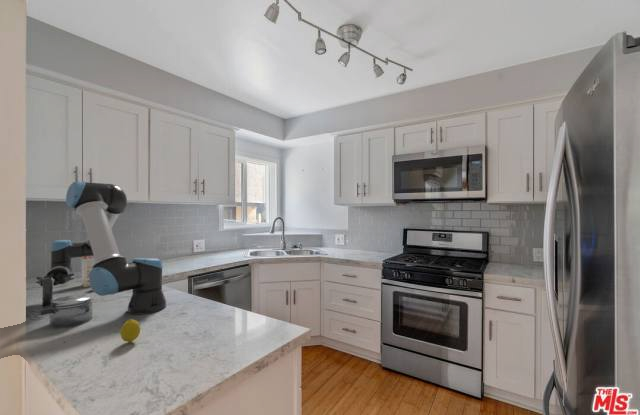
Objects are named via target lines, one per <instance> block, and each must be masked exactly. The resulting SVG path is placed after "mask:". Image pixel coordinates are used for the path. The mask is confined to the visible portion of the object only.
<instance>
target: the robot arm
mask: <svg viewBox="0 0 640 415" xmlns="http://www.w3.org/2000/svg"><path fill="white" fill-rule="evenodd" d="M65 197H66V198H65V203H66V206H67V207H68V208H70V209H74V210H75V212H76V214H77V215H78V216H81V218H82V222H83V225H84V229H85V231H86V235H87V238H86V239H85V241H84V242H72V241H71V240H70V239H57V240H54V241H52V242H51V244H50V270H49V271H47V272H48V273H47V274H46V275H45V276H36V277H35V278H36V279H35V280H36V281H35V282H36V284H38V285H40V286H41V287H43V279H44V278H50V277H52V278H53V288H54V287H55V286H58V285H64V284H66V283H68V282H69V281H73V280H74V279H75V273H72V270H73V269H72V259H74V258H76V259H77V258H82V257H85V256H94V258H95V261H96V263H95V264H94V265H93V267H92V268H93V269H92V270H91V271H90V273H89V278H90V279H89V283H90V286H89V287H90V288H91V290H92V291H93V292H94V293H95V294H96V295H98V296H101V297H103V296H110V295H115V294H119V293H122V292H128V291H132V293H131V297H130V299H129V302H128V305H127V313H129V314H131V315H143V314H144V315H145V314H151V313H155V312H159V311H162V310H163V309H165V308H166V307H167V299H166V296H165V294H164V292H163V261H162V259H160V258H155V257H135V258H132V262H128V261H127V259H126V257H125V256H123V255H121V254H120V251H119V248H118V244H117V242H116V239H115V235H114V234H113V233H114V232H113V229H112V228H113V226H114V225H115V223H116V221H117V219H118V218H119V217H120V215H121V214H123V213H124V211H125V210H126V208H127V204H128V199H127V195H126V192H125V191H124V190H123V189H122V188H121V187H119V186H118V185H116V184H112V183H102V182H87V181H74V182H72V183H71V184H70V185H69V186H68V189H67V191H66V196H65Z"/></svg>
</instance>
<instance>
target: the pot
mask: <svg viewBox="0 0 640 415" xmlns="http://www.w3.org/2000/svg"><path fill="white" fill-rule="evenodd" d="M93 302H94V298H93V299H92V300H90V301H87V302H84V303H80V304H76V305H70V306H61V307H51V308H47V309H39V310H38V313H37V315H39V316H45V315H49V327H50V328H51V329H64V328H66V329H67V328H70V327H71V328H72V327H76V326H79V325H82V324H85V323H88V322H90V321H91V320H92V319H93Z"/></svg>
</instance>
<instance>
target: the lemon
mask: <svg viewBox="0 0 640 415" xmlns="http://www.w3.org/2000/svg"><path fill="white" fill-rule="evenodd" d="M140 333H141V326H140V323H139V322H138V320H135V319H132V318H130V319H128V320H127V321H125V322H124V323H123V324H122V325H121V329H120V337H121V339H122V340H123V341H124V342H128V343H129V344H131V343H133V341H136V339H137V338H138V337H139V335H140Z"/></svg>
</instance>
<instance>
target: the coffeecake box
mask: <svg viewBox="0 0 640 415" xmlns="http://www.w3.org/2000/svg"><path fill="white" fill-rule="evenodd" d="M95 263H96V261H95V258H94V256H85V257H81V286H82V287H84V288H87V287H91V286H90V283H89V279H90V278H89V273H90V271H91V270H92V269H93V268H92V267H93V265H94V264H95Z"/></svg>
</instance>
